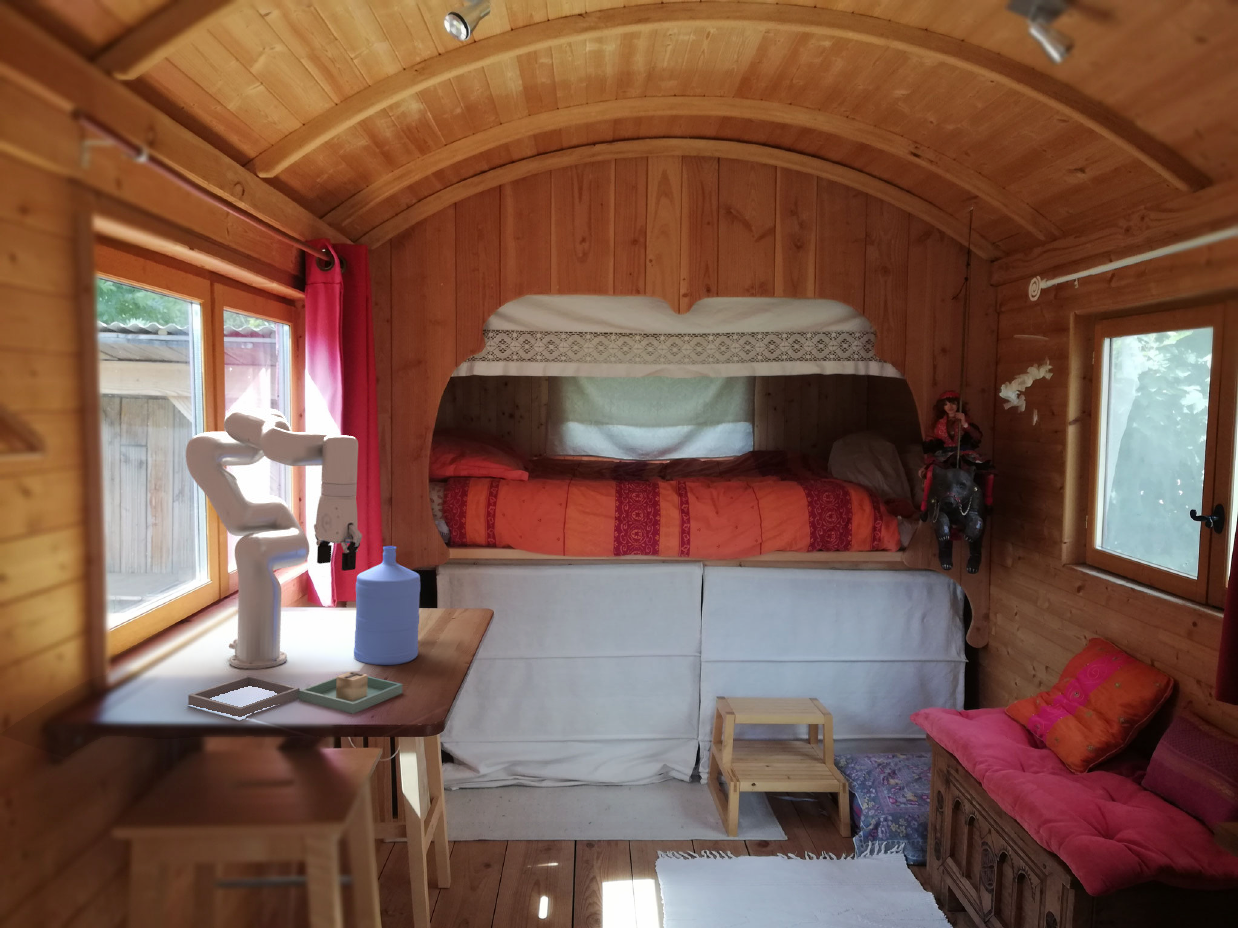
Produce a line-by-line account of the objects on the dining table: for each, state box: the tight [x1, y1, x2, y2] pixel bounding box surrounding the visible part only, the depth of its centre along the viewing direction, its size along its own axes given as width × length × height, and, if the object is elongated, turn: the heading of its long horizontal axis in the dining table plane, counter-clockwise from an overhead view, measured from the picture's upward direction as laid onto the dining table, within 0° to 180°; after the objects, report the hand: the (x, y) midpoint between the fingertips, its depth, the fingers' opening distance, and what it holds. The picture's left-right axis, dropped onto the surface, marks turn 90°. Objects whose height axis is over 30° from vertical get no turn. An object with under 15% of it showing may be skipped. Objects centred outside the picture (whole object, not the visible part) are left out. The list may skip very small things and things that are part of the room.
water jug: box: [353, 545, 421, 666], centre depth 209 cm, size 16×16×28 cm
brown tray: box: [187, 675, 300, 717], centre depth 174 cm, size 15×15×2 cm
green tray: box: [298, 675, 403, 715], centre depth 180 cm, size 15×15×2 cm
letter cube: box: [336, 670, 369, 701], centre depth 180 cm, size 4×4×5 cm
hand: (336, 566), depth 187 cm, fingers open, 9 cm apart
